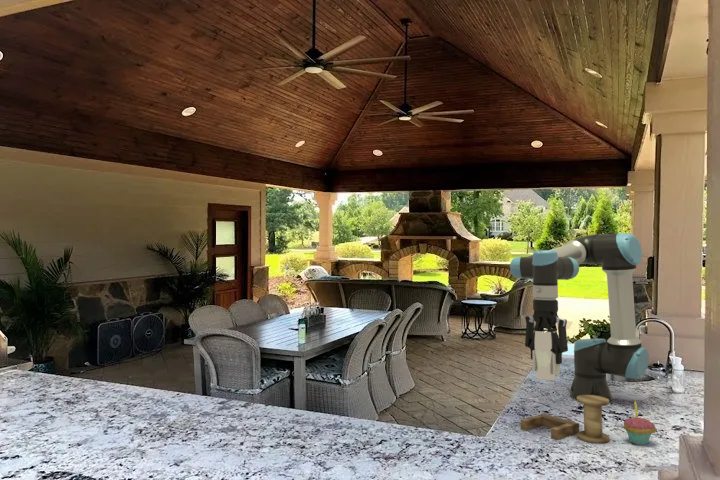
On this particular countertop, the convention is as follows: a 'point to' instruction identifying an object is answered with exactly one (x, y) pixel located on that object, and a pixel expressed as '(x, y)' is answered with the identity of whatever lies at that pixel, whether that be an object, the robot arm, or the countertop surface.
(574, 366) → the robot arm
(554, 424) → the u-shaped block
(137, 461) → the countertop surface
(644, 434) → the cupcake
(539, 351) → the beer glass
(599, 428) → the bobbin
